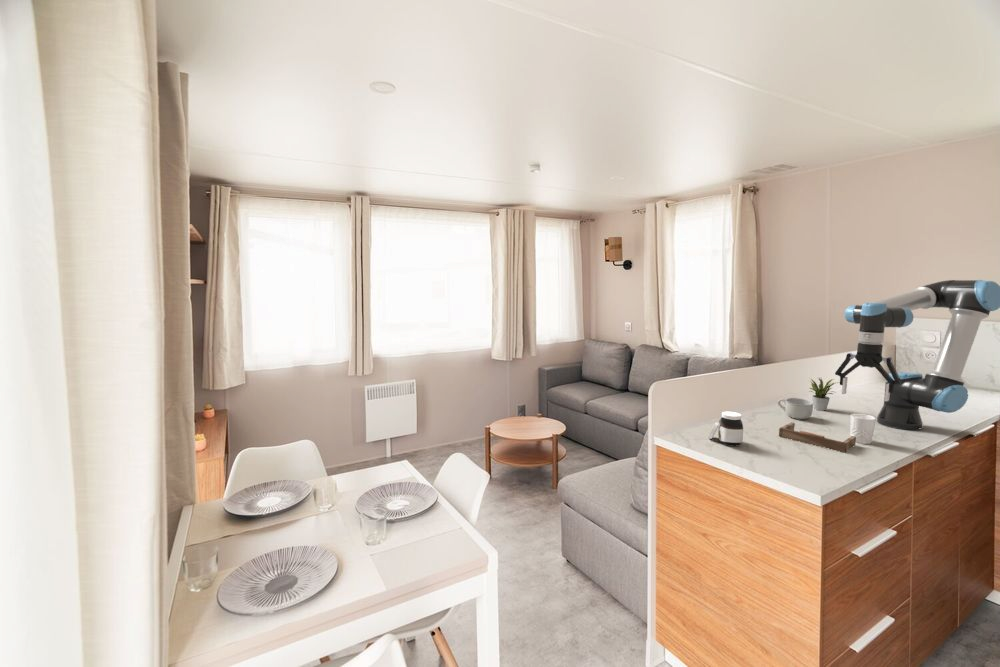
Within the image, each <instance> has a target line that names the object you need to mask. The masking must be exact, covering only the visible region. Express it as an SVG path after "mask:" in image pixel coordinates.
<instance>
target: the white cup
mask: <svg viewBox="0 0 1000 667" xmlns="http://www.w3.org/2000/svg"><path fill="white" fill-rule="evenodd" d="M849 420H850V421H849V422H850V423H849V424H850V426H849V433H850V437H851V436H856V443H857V442H858V444H862V443H863V445H869V444H870V443H871V444H872V443H873V437H874V434H875V427H876V423H877V422H876V421H877V418H876V417H875V416H873V415H869V414H863V413H851V414H850V419H849ZM850 437H849V438H850Z"/></svg>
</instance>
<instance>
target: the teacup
mask: <svg viewBox="0 0 1000 667" xmlns="http://www.w3.org/2000/svg"><path fill="white" fill-rule="evenodd" d="M781 401H782V402H784V405H785V407H784V406H783V405H782V404H781ZM777 405H778V406H779V407H780V408H781V409H782V410H783V411H784V412H785V413H786V415H788V416H789V417H790V418H791V417H792V419H794V418H796V419H795V420H800V419H804V420H807V419H808V418H810V417H811V416H812V414H813V410H814V409H813V400H809V399H805V398H802V397H801V398H800V397H788V398H786V399H785V398H780V399H778V400H777Z"/></svg>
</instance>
